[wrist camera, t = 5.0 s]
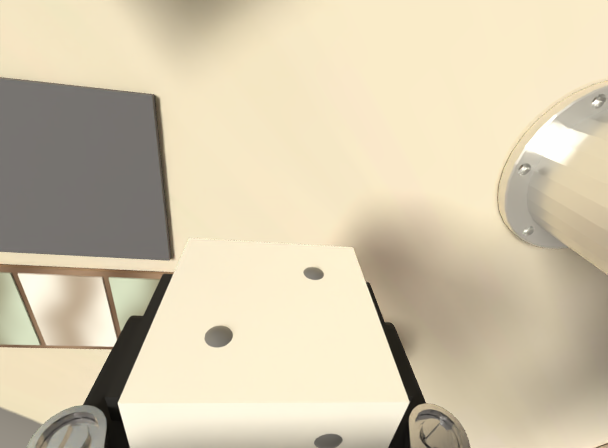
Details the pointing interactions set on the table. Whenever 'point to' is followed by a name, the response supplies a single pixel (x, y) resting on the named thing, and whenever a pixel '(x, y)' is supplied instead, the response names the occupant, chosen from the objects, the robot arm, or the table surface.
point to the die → (264, 354)
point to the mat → (80, 172)
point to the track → (70, 305)
